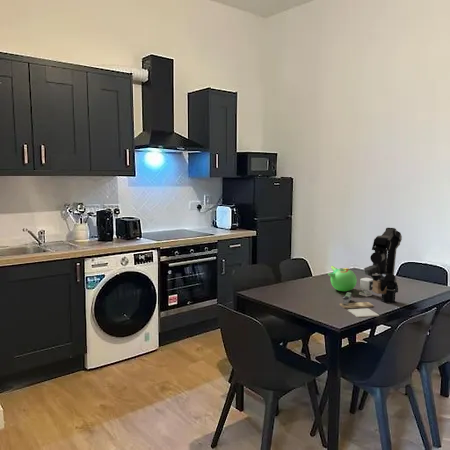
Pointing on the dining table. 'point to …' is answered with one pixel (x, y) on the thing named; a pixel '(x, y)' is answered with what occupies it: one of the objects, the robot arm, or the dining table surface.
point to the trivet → (363, 312)
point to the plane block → (356, 305)
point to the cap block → (378, 287)
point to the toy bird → (343, 279)
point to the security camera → (366, 286)
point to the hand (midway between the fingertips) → (379, 290)
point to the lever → (347, 298)
